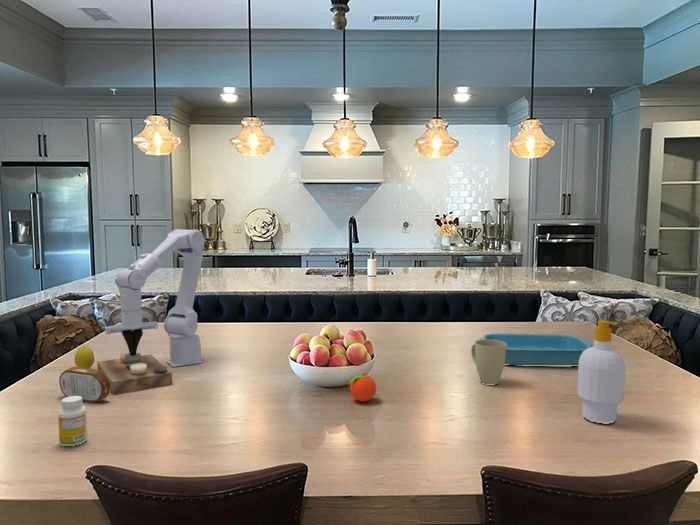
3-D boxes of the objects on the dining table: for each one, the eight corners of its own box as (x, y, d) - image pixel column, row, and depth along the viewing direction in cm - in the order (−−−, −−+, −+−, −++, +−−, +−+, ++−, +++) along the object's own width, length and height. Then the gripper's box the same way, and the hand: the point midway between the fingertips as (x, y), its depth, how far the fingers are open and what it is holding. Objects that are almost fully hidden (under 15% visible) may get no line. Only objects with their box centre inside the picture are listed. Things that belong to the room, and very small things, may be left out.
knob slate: (139, 368, 166) (138, 352, 166) (142, 372, 163) (142, 355, 162) (124, 371, 164) (123, 354, 163) (127, 374, 160) (126, 357, 160)
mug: (508, 380, 163) (509, 340, 162) (502, 389, 154) (503, 348, 153) (471, 375, 168) (472, 336, 167) (463, 384, 159) (464, 344, 158)
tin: (111, 401, 144) (110, 370, 144) (102, 405, 141) (101, 373, 141) (67, 394, 149) (65, 364, 148) (57, 398, 146) (56, 367, 145)
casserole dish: (483, 368, 176) (484, 346, 176) (474, 350, 198) (474, 331, 198) (602, 372, 173) (603, 349, 172) (579, 353, 195) (580, 334, 194)
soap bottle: (619, 431, 126) (625, 327, 123) (572, 421, 131) (576, 322, 129) (624, 417, 134) (629, 320, 132) (579, 408, 140) (584, 315, 138)
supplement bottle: (66, 437, 121) (64, 394, 120) (91, 436, 122) (89, 394, 121) (55, 447, 116) (53, 403, 115) (81, 447, 116) (79, 402, 115)
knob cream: (145, 379, 161) (144, 362, 160) (148, 383, 157) (148, 365, 157) (129, 382, 158) (128, 364, 158) (132, 386, 155) (132, 368, 154)
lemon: (87, 374, 167) (85, 348, 167) (71, 373, 169) (69, 347, 168) (98, 369, 173) (97, 344, 172) (83, 368, 174) (82, 343, 173)
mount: (151, 364, 178) (150, 350, 177) (172, 384, 158) (171, 368, 158) (97, 372, 169) (97, 357, 169) (112, 394, 149) (112, 377, 149)
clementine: (354, 407, 140) (354, 380, 139) (341, 399, 146) (341, 373, 146) (381, 402, 144) (381, 376, 143) (368, 394, 150) (368, 369, 149)
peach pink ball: (134, 368, 172) (133, 351, 172) (137, 371, 169) (137, 354, 168) (119, 370, 170) (118, 353, 169) (122, 373, 166) (121, 357, 166)
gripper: (107, 314, 154) (109, 361, 155) (160, 309, 162) (161, 354, 163) (102, 310, 160) (104, 356, 161) (154, 306, 168) (155, 349, 169)
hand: (132, 354), depth 163 cm, fingers closed, pressing on knob slate
